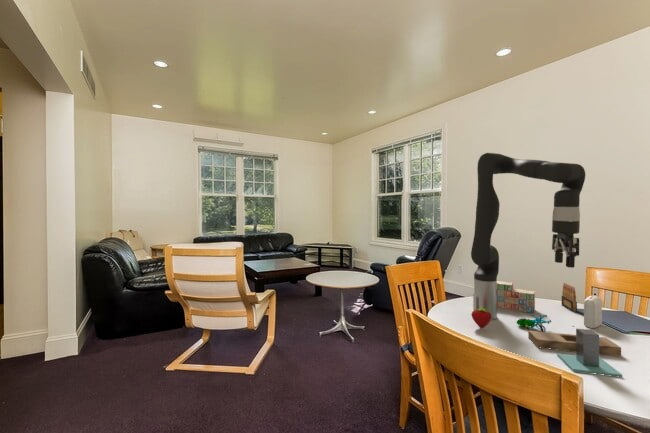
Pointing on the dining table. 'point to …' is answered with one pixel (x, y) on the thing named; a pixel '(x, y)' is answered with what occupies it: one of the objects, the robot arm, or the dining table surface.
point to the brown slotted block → (570, 342)
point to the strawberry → (481, 317)
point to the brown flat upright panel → (569, 298)
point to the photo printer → (592, 311)
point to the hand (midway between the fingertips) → (564, 264)
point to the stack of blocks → (515, 298)
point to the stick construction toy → (533, 322)
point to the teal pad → (578, 367)
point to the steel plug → (587, 347)
